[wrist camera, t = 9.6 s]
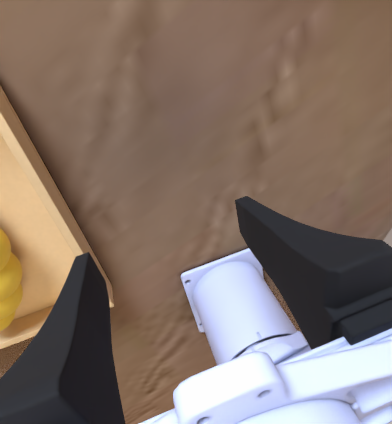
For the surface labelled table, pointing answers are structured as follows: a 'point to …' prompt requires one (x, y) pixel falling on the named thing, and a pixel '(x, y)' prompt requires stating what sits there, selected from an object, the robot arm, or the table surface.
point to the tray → (35, 228)
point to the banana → (9, 282)
